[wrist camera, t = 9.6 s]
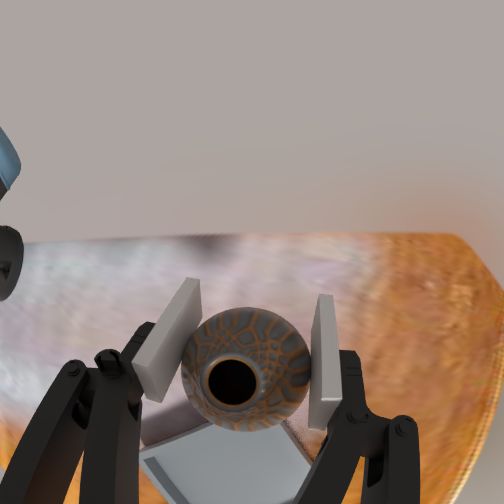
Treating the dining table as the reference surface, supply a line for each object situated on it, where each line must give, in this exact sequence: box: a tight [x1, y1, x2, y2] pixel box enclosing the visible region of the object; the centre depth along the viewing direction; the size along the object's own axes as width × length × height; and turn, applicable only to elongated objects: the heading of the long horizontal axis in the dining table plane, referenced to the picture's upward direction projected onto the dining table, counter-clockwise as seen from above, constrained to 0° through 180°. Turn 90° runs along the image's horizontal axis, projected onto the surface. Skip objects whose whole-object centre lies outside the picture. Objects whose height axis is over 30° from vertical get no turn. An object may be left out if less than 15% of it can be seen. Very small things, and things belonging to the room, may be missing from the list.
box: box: [139, 421, 313, 504], centre depth 23 cm, size 18×18×4 cm
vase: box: [181, 307, 311, 432], centre depth 13 cm, size 7×7×9 cm
